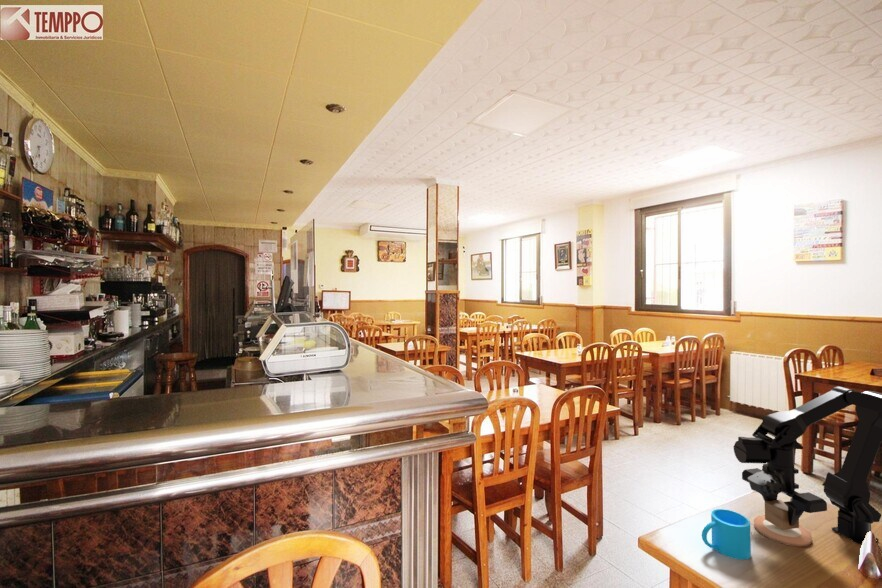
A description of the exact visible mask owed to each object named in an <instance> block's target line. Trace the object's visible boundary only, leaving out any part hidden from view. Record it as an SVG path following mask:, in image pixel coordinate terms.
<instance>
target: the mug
mask: <svg viewBox="0 0 882 588" xmlns="http://www.w3.org/2000/svg"><path fill="white" fill-rule="evenodd" d="M710 517H711V518H710V519H711V521H710V522H709V523H707V524H706V525H705V526H704V527H703V530H702V531H701V539H702V541H703V543H704V544H705V545H706V546H708V547H709V548H711V549H713V550H716V551H717V552H718V553H720V554H721V555H723V556H726V557H728V558H731V559H735V558H736V559H735V560H747V559H750V558H751V555H752V550H751V549H752V547H751V546H752V545H751V520H749V519H750V518H748V517H746V515H743V514H741V513H739V512H737V511H734V510H730V509H724V508H716V509H713V510H712V511H711V514H710ZM710 530H711V543H710V542H709V540H708V533H709V531H710Z"/></svg>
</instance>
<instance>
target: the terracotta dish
mask: <svg viewBox="0 0 882 588" xmlns="http://www.w3.org/2000/svg"><path fill="white" fill-rule="evenodd" d="M753 527H754V529H755V530H756V531H757V532H759V534H761V535H762V536H764V537H766V538H768V539H770V540H772V541H773V542H777V543H779V544H783V545H787V546H792V547H798V548H799V547H807V546H811V544H812V542H813V537H812V534H811V532H810V531H809V530H808V529H807V528H805V527H803V526H802V525H801V524H799V528H794V529H787V530H782V529H781V528H779V527H777V526H775V525H774V524H772V523H770V522H769V521H767V520H765V514H764V515H763V514H762V515H757V516H756V517H754V518H753Z"/></svg>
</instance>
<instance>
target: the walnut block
mask: <svg viewBox="0 0 882 588" xmlns="http://www.w3.org/2000/svg"><path fill="white" fill-rule="evenodd" d="M784 502H785V501H784V500H781V499H777V500H773V501H764V515H765V520H767V521H769V522H770V523H772V524H774V525H775V526H777V527H779V528H781V529H782V530H787V529H794V528H799V525H800V518H799V519H798V521H797V522H796V523H795V525H794V526H790V525H789V519H788V507H787V505H786V504H785V503H784Z"/></svg>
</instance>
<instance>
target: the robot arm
mask: <svg viewBox="0 0 882 588" xmlns="http://www.w3.org/2000/svg"><path fill="white" fill-rule="evenodd" d="M853 405H854V406H855V409H854V410H855V412H856V413H855V414H856V416H857V420H858V422H857V425H856V428H855V431H854V434H853V436H852V439H851V442H850V444H849V447H848V450H847V452H846V455H845V458H844V461H843V463H842V465H841V468H840V470H839V471H837V472H835V473H832V472H827V474H826V475H825V480H824V481H823V483H822V484H821V485H822V486H823V493H824V494H825V495H826V497H827V498H828V499H829V501H830V503H831V504H832V505H833V506H835V507H836V508H838V510H837V517H836V518H837V521H836V522H837V526H834V527H831V530H832V531H834V532H835V533H837V534H839V535H841V536H843V537H845V538H847V539H848V540H850V541H852V542H854V543H856V544H857V545H858V544H859V545H862V544H861V543H862V541H863V540H864V538H865V535H866V533H867V532H869V531H871V532H872V524H873V523H880V520H881V518H882V514H881V513H880V512H879V511H878V510H877V509H876V508H874V507H873V506H872V505H871V504H870V501H871V500H870V499H871V492H870V489H869V485H868V479H869V475H870V473H871V470H872V467H873V465H874V462H875V460H876V457H877V454H878V451H879V450H880V446H881V443H882V392H877V391H873V390H865V391H863V392H862V391H858V390H855V389H851V388H848V387H844V386H838V385H837V386H835V387H832V388H831V390H829V391H827V392H826V393H823V394H821V395H820V396H818V397H815V398H814V399H812V400H809V401H807V402H805V403H803V404H801V405H800V406H797V407H795V408H793V409H790V410H781V411H777V412H774V413H770V414H767V415H765V416H764V417H763V418H762V419H761V420H762V422H761V423H760V424H759V426H758V427H757V428H756V430H754V432H753V433H752V437H745V436H738V437H737V441H735V443H734V445H733V453H734V456H735V458H736V459H737V461H739V463H741V464H762V466H761V467H762V468H761V469H760V468H758V467H757V468H746V469H744V470H743V471H742V472H741V479H742V480H743V481H745V482H746V483H748V484H749V486H750V489H751V490H752V491H754V492H756V493H758V494H760V495H761V496H762V499H763V500H764V502H765V501H773V500H778V497H779V496H778V495H779V494H784V495H786V496H788V497H789V498H790V500H789V501H784V503H785V504H786V505H787V507H788V519H789V525H790V526H794V525H795V523H796V522H797V521H798V519H799V520H800V518H801V517H802V515H803V513H804V512H805V513H808V514H813V513H814V514H815V513H820V512H826V511H828V503H827V502H826V500H824V498H822V497H821V496H818V495H815V494H814V493H811V492H802V493H801V492H798V491H796V489H798V490H799V488H800V485H799V484H798V483H796V482H795V481H796V480H795V479H796V477H795V474H796V475H798V474H799V473H800V472H799V469H798V468H796V467H795V450H804V448H805V447H804V446H803V445H801V444H800V443H799V442H798V441H797V439H798V438H800V437H802V436H803V435H804V434H805V432H806V431H807V429H808V427H810V426H811V425H813V424H815V423H817V422H819V421H822V420H823V419H825V418H828V417H829V416H831V415H833V414H835V413H838V412H839V411H842V410H844V409H846V408H848V407H850V406H853ZM768 435H769V436H768ZM771 436H772V437H771ZM876 540H877V542H879V538H877V537H876Z"/></svg>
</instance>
